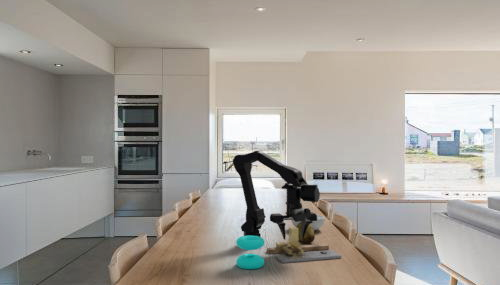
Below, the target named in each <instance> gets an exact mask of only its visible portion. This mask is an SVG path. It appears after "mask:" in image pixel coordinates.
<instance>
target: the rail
mask: <svg viewBox="0 0 500 285" xmlns="http://www.w3.org/2000/svg"><path fill="white" fill-rule="evenodd" d="M301 248H302V249H303V250H304V252H311V251H324V250H330V246H329V245H328V244H327V243H318V244H305V245H304V244H303V245H302V244H301ZM266 252H267V253H268V254H269V255H271V254H285V253H289V255H291V253H298V252H299V251H298V250H296V249H295V248H290V247H289V246H288V244H287V242H285V241H279V242H278V241H276V242H275V246H273V247H266Z"/></svg>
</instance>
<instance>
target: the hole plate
mask: <svg viewBox="0 0 500 285" xmlns="http://www.w3.org/2000/svg"><path fill="white" fill-rule="evenodd" d="M274 258H276V260H278V261H279V262H280V263H281V264H285V263H286V264H288V263H298V262H309V261H310V262H312V261H313V262H314V261H323V260H333V259H334V260H335V259H342V254H340V253H338V252H336V251H335V250H333V249H325V250H312V251H304V252H303V254H301V252H291V255H289V253H287V252H286V253H274Z"/></svg>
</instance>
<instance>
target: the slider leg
mask: <svg viewBox="0 0 500 285" xmlns="http://www.w3.org/2000/svg"><path fill="white" fill-rule="evenodd" d="M286 243H287V244H288V246H289V247H290V248H295V249H296V250H298V251H299V252H301V254H303V252H305V251H304V250H303V249H302V248H301V246H302V244H301V243H300V242H299V238H298V228H297V227H295V226H290V227H288V241H286Z"/></svg>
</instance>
